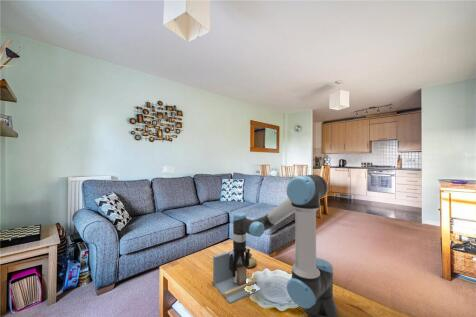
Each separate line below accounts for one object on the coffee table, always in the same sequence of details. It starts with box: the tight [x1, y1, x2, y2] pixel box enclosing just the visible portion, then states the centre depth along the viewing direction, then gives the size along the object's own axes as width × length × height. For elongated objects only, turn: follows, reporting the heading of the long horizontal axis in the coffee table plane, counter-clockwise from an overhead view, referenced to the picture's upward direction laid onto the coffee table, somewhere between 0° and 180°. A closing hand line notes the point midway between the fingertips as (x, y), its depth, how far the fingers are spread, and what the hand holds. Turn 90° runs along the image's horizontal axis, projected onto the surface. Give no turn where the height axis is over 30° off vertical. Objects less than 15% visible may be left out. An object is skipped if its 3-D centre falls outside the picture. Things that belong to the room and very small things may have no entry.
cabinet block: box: [236, 262, 247, 286], centre depth 114 cm, size 7×5×10 cm
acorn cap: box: [247, 252, 258, 269], centre depth 135 cm, size 10×11×10 cm
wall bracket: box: [212, 250, 257, 304], centre depth 111 cm, size 20×20×16 cm
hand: (239, 280), depth 114 cm, fingers closed on cabinet block, 5 cm apart
